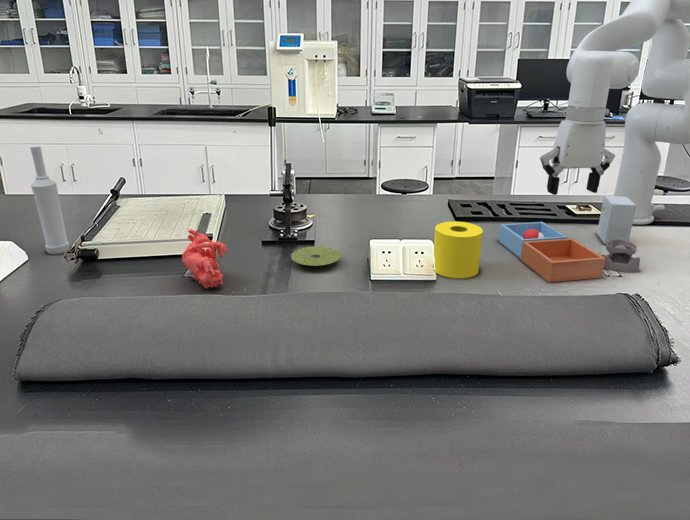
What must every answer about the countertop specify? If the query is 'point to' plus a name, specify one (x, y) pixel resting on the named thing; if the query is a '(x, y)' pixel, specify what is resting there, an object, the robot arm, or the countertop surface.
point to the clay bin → (562, 260)
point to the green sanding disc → (315, 256)
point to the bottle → (48, 207)
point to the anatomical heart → (203, 259)
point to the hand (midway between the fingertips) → (571, 192)
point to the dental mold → (621, 256)
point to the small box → (616, 218)
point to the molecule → (532, 234)
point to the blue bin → (514, 234)
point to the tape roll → (457, 249)
